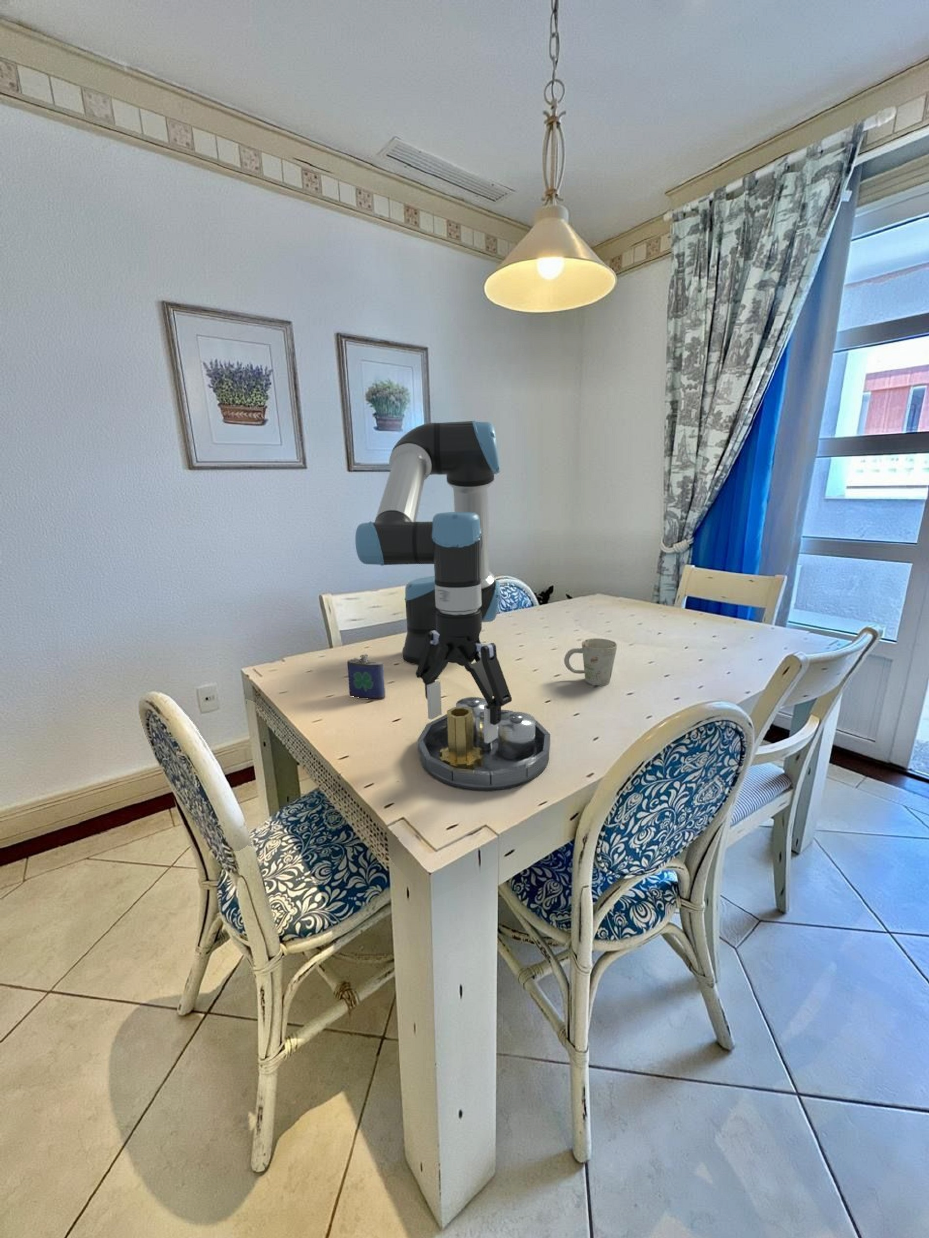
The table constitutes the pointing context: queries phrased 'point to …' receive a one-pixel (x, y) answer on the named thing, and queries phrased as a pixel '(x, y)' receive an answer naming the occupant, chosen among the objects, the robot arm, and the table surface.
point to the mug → (595, 660)
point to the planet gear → (461, 740)
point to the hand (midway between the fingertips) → (461, 727)
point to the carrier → (489, 750)
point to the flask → (366, 678)
